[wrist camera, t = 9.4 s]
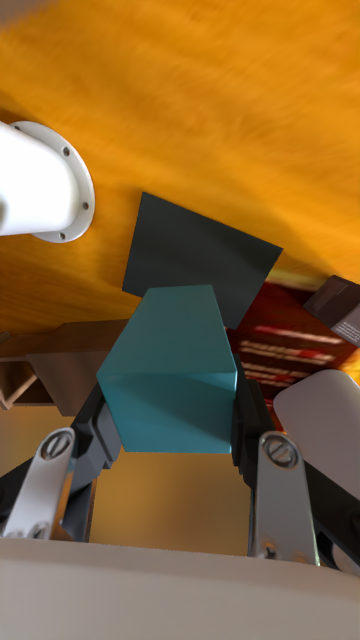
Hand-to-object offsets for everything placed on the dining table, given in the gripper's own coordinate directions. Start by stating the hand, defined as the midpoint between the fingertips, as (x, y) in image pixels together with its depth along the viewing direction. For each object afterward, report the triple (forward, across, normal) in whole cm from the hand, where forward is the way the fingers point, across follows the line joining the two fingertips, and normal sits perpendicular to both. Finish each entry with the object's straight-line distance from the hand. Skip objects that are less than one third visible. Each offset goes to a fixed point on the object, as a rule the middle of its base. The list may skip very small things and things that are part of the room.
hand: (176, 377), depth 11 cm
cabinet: (+21, +15, +14) cm, 29 cm away
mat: (+21, -1, -1) cm, 21 cm away
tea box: (+7, 0, 0) cm, 7 cm away
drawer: (+20, +30, +14) cm, 39 cm away
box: (+21, -22, +5) cm, 31 cm away
